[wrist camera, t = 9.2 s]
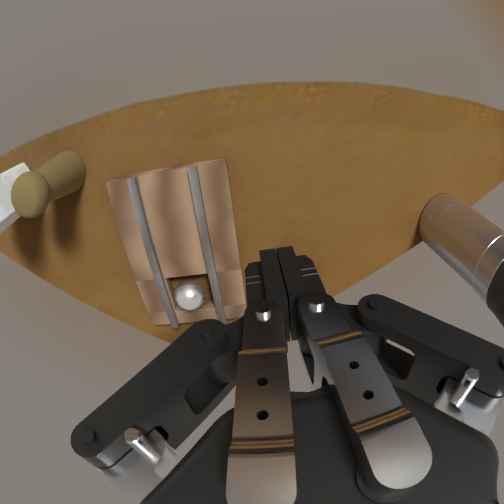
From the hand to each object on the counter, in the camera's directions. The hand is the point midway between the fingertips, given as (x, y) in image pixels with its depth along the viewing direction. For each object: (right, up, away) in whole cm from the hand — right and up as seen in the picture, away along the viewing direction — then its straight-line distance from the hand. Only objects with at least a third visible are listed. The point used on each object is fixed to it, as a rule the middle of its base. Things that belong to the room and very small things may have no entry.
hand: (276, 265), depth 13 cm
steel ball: (-10, -5, +27) cm, 29 cm away
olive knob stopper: (-26, +11, +19) cm, 34 cm away
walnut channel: (-10, +1, +26) cm, 28 cm away
